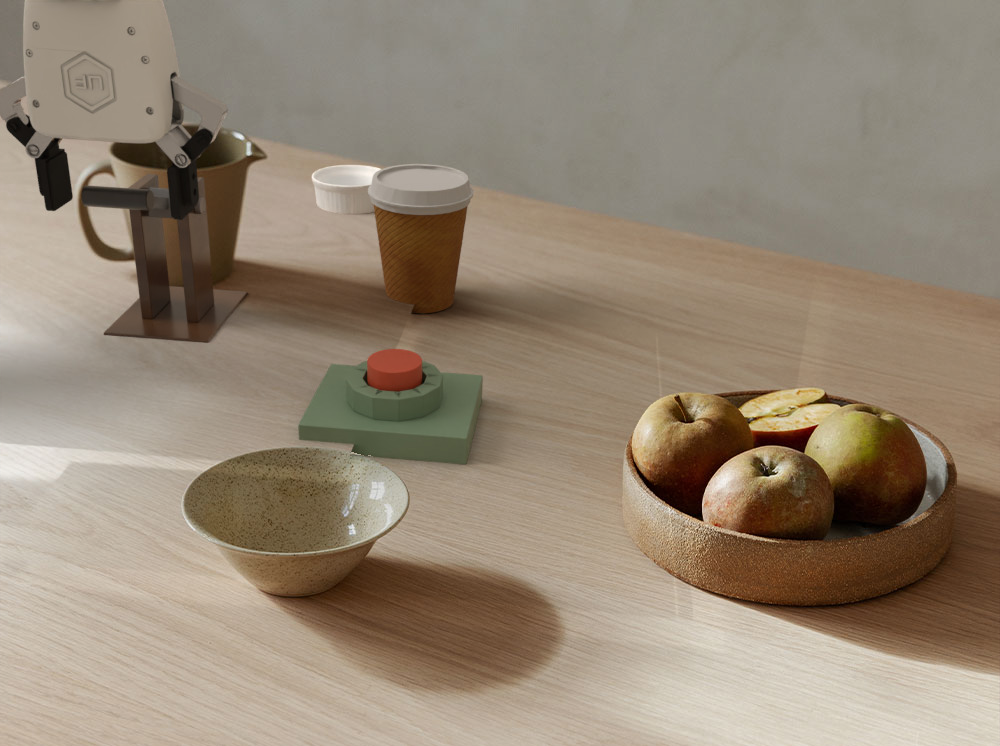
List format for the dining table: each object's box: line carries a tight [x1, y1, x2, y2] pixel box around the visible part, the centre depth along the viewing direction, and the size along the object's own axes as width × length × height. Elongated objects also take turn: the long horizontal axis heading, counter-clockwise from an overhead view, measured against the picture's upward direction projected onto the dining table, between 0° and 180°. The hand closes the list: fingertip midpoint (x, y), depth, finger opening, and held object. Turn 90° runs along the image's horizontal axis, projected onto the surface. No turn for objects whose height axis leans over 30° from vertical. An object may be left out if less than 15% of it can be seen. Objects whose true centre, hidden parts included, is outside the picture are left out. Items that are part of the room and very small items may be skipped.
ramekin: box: [311, 164, 382, 215], centre depth 126 cm, size 9×9×4 cm
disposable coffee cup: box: [368, 163, 474, 314], centre depth 102 cm, size 10×10×12 cm
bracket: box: [103, 173, 248, 344], centre depth 95 cm, size 11×9×13 cm
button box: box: [297, 360, 484, 465], centre depth 82 cm, size 12×10×4 cm
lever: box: [80, 184, 173, 219], centre depth 88 cm, size 12×5×2 cm, turn 174°
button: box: [366, 348, 423, 392], centre depth 81 cm, size 4×4×2 cm
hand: (121, 209), depth 84 cm, fingers open, 9 cm apart
